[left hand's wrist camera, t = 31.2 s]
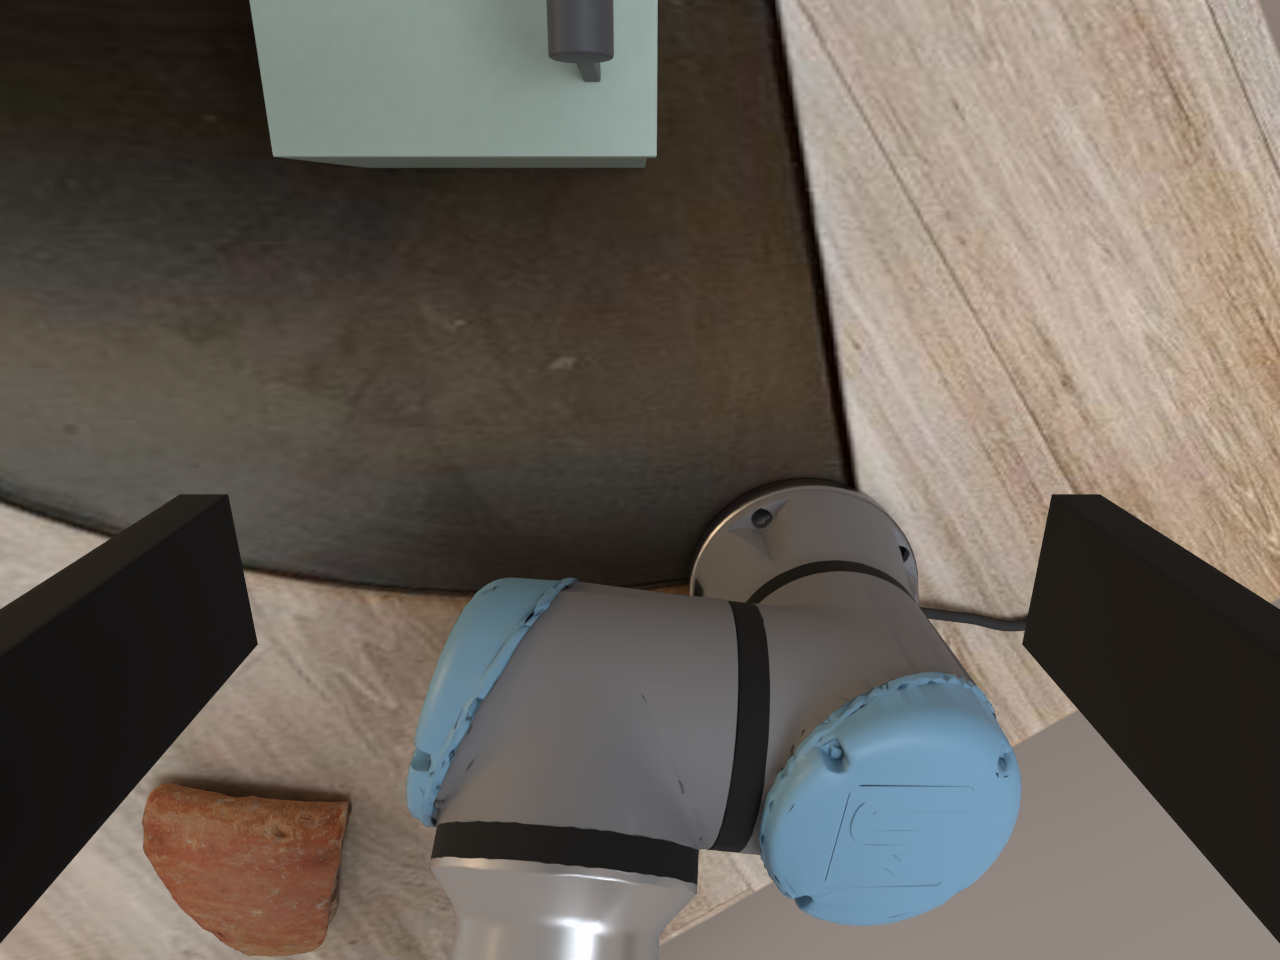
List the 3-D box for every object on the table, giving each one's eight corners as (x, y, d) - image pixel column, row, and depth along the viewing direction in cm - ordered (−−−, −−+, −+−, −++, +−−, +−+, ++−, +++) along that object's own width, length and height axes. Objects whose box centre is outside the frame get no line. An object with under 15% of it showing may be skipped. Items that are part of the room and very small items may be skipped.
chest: (645, -85, 40) (647, -182, 30) (645, 167, 44) (646, 158, 34) (339, -84, 40) (236, -182, 30) (367, 168, 44) (286, 158, 34)
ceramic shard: (131, 971, 58) (134, 797, 56) (189, 909, 65) (194, 750, 62) (313, 1014, 57) (326, 838, 54) (354, 947, 64) (368, 786, 61)
